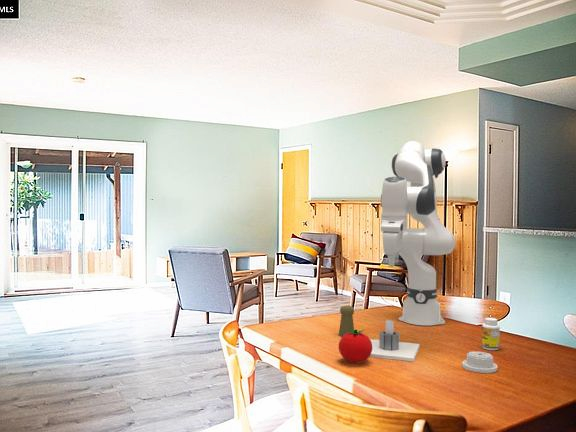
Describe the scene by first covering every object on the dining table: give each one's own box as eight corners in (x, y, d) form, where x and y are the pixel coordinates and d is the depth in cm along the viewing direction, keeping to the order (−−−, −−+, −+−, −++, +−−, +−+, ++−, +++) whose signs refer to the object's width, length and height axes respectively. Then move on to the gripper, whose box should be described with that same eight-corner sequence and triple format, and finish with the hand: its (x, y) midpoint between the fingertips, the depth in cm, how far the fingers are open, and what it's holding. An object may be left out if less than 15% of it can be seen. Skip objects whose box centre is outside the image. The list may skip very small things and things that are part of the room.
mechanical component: (479, 362, 166) (455, 366, 162) (480, 348, 166) (455, 351, 162) (504, 371, 157) (479, 375, 153) (505, 356, 157) (479, 360, 152)
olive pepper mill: (354, 337, 193) (354, 307, 193) (337, 336, 194) (338, 307, 194) (355, 333, 199) (355, 304, 198) (339, 332, 200) (339, 304, 200)
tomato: (331, 359, 166) (332, 328, 165) (358, 355, 171) (358, 324, 171) (352, 369, 157) (352, 335, 156) (379, 363, 162) (379, 331, 162)
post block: (367, 341, 188) (368, 313, 188) (419, 346, 182) (419, 317, 181) (356, 355, 171) (357, 324, 171) (413, 361, 165) (414, 329, 165)
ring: (381, 344, 180) (381, 330, 180) (399, 346, 178) (400, 331, 178) (378, 349, 174) (378, 334, 174) (397, 351, 172) (397, 336, 172)
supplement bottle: (479, 346, 183) (479, 317, 183) (494, 346, 184) (495, 317, 183) (485, 350, 178) (486, 320, 177) (502, 350, 178) (502, 320, 178)
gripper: (389, 221, 191) (388, 259, 192) (379, 226, 172) (379, 268, 173) (407, 222, 189) (406, 260, 190) (399, 227, 170) (398, 269, 170)
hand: (393, 264), depth 181 cm, fingers open, 8 cm apart
